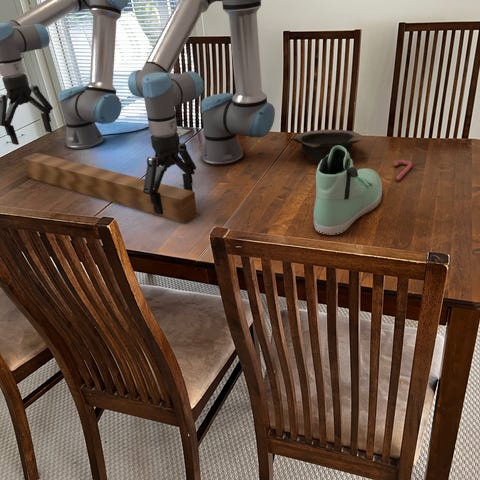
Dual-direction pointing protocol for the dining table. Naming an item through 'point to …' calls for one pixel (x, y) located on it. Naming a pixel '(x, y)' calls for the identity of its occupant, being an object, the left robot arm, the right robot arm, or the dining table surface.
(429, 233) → the dining table surface
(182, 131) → the baking ingredient package
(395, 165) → the candy cane
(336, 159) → the sneaker
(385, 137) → the dining table surface
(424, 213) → the dining table surface
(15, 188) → the dining table surface
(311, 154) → the stone bowl
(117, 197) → the beam
